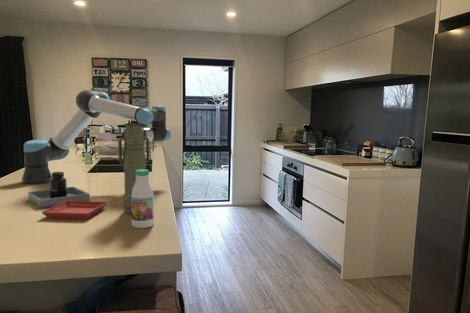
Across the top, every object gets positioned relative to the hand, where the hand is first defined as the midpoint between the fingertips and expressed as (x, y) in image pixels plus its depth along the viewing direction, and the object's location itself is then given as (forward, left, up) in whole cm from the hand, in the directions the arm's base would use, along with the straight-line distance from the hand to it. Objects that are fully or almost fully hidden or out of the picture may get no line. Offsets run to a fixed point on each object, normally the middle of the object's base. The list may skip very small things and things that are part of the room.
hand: (103, 136), depth 174 cm
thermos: (+42, -5, -28) cm, 51 cm away
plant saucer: (+30, -24, -29) cm, 48 cm away
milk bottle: (+60, -11, -28) cm, 67 cm away
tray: (+4, -23, -28) cm, 36 cm away
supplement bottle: (+4, -23, -27) cm, 36 cm away
